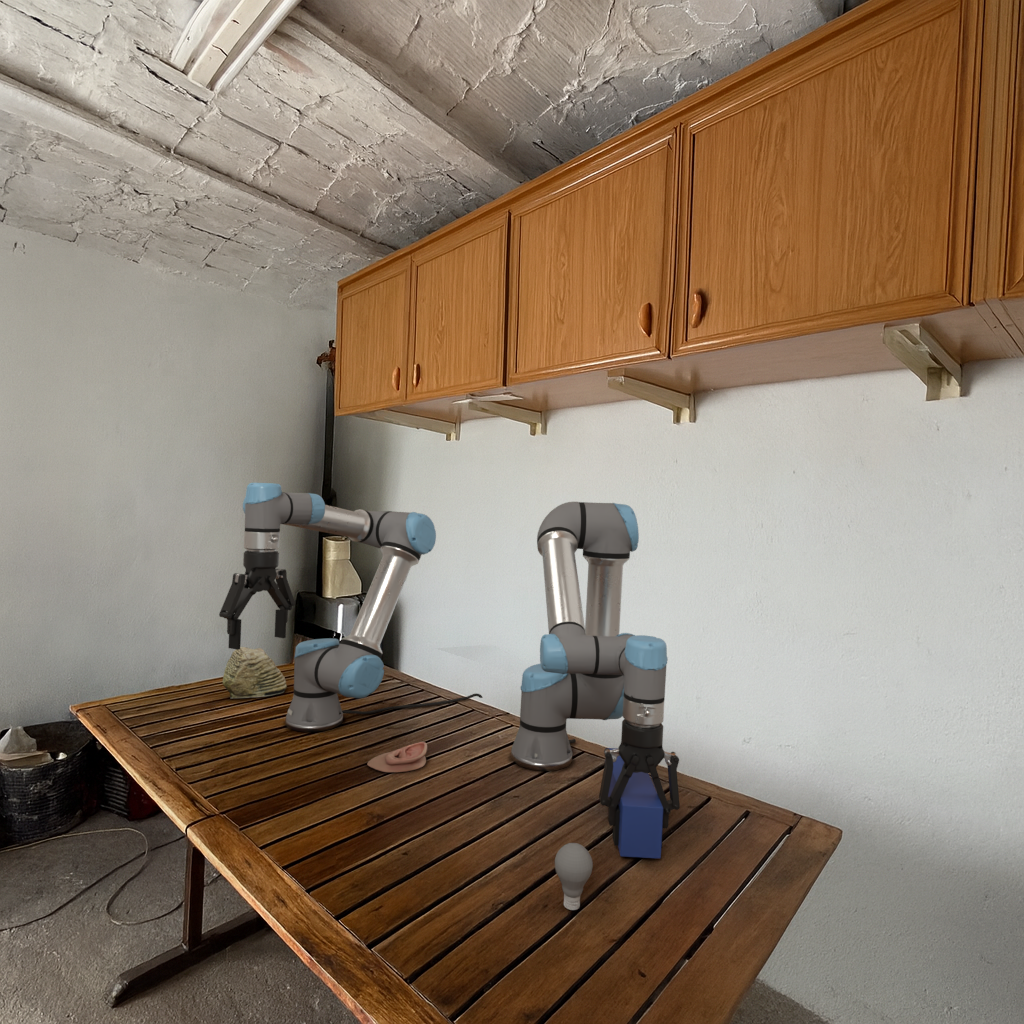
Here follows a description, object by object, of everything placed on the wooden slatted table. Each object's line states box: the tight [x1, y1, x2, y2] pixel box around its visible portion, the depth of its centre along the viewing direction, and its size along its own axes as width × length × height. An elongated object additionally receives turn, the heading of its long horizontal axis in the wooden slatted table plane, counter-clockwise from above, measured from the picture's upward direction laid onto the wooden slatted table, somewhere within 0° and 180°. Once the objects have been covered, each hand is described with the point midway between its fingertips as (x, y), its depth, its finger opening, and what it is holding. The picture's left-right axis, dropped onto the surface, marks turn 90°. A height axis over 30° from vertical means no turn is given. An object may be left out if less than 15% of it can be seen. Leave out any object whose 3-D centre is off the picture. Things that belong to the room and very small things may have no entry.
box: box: [608, 747, 663, 860], centre depth 127 cm, size 27×7×9 cm, turn 178°
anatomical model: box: [366, 741, 428, 773], centre depth 152 cm, size 13×4×12 cm
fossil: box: [222, 646, 288, 699], centre depth 198 cm, size 9×18×15 cm, turn 132°
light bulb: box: [554, 842, 594, 911], centre depth 100 cm, size 6×6×10 cm
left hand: (258, 642), depth 145 cm, fingers open, 13 cm apart
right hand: (636, 842), depth 118 cm, fingers closed on box, 7 cm apart
